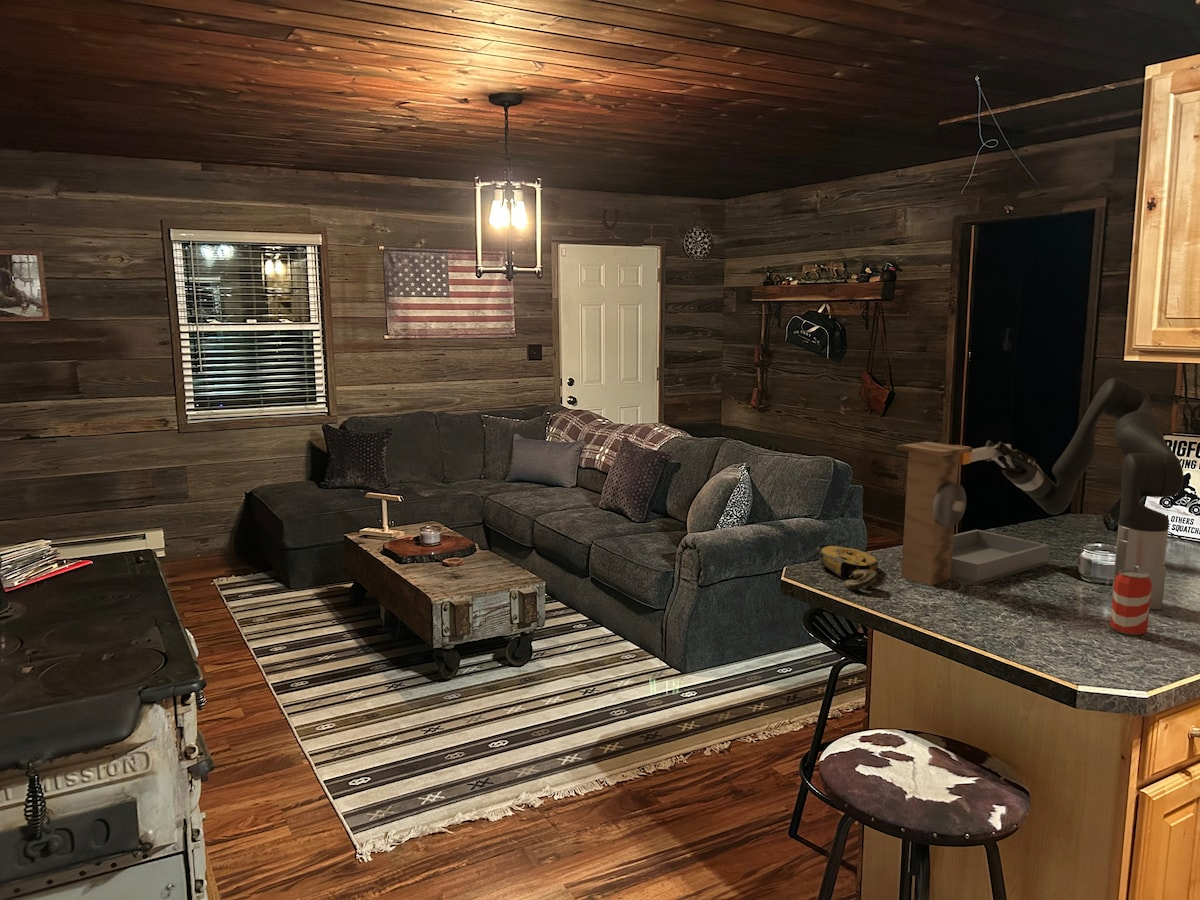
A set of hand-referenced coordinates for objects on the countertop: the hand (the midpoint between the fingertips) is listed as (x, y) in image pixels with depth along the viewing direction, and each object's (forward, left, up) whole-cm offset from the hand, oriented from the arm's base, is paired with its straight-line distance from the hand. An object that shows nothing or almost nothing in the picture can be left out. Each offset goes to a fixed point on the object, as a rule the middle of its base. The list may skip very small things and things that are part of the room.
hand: (993, 444), depth 221 cm
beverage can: (-50, -8, -31) cm, 59 cm away
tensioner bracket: (-15, +20, -31) cm, 39 cm away
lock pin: (-3, +4, -3) cm, 6 cm away
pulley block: (-13, +38, -31) cm, 51 cm away
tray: (-2, +3, -31) cm, 31 cm away
